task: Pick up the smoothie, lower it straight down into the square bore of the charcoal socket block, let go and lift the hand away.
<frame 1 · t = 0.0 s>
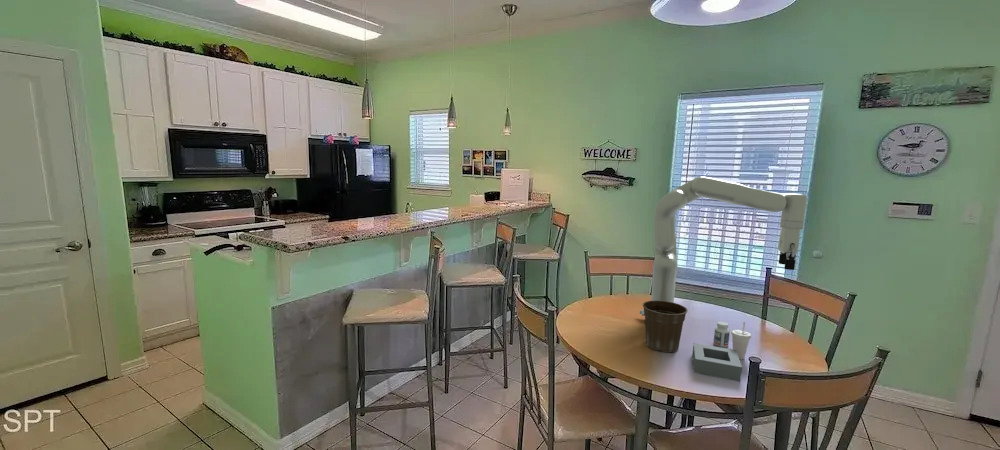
hand: (786, 266, 168), 31 cm above the table, tool pointing down, fingers open, 9 cm apart
socket: (714, 367, 147), on the table
smoothie: (738, 357, 156), on the table
pill bottle: (720, 344, 167), on the table
plant pot: (661, 346, 164), on the table
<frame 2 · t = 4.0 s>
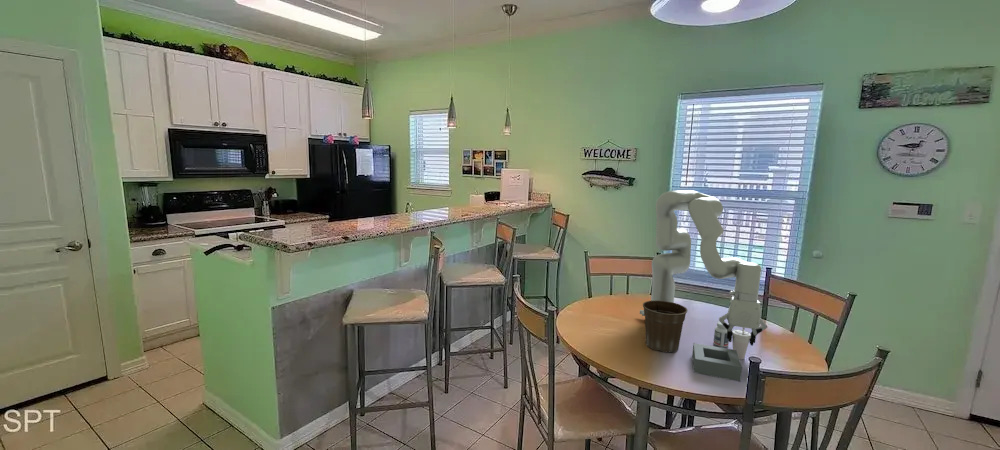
hand: (740, 342, 155), 6 cm above the table, tool pointing down, fingers closed on smoothie, 6 cm apart
smoothie: (738, 357, 156), on the table, touching gripper
everything else where it was.
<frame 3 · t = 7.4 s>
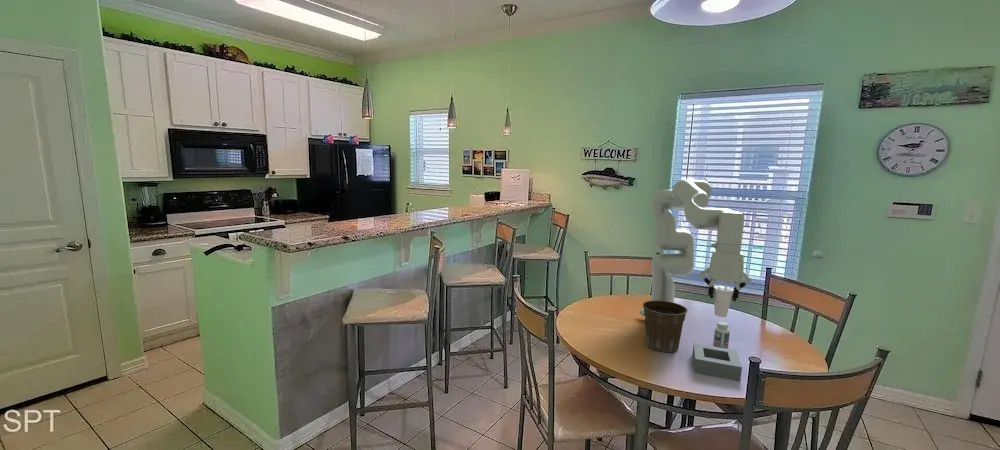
hand: (722, 298, 144), 25 cm above the table, tool pointing down, fingers closed on smoothie, 6 cm apart
smoothie: (720, 315, 145), point 19 cm above the table, touching gripper
everything else where it was.
when the fingers open (7 cm above the table, at t = 10.9 s): smoothie drops 1 cm, resting in socket.
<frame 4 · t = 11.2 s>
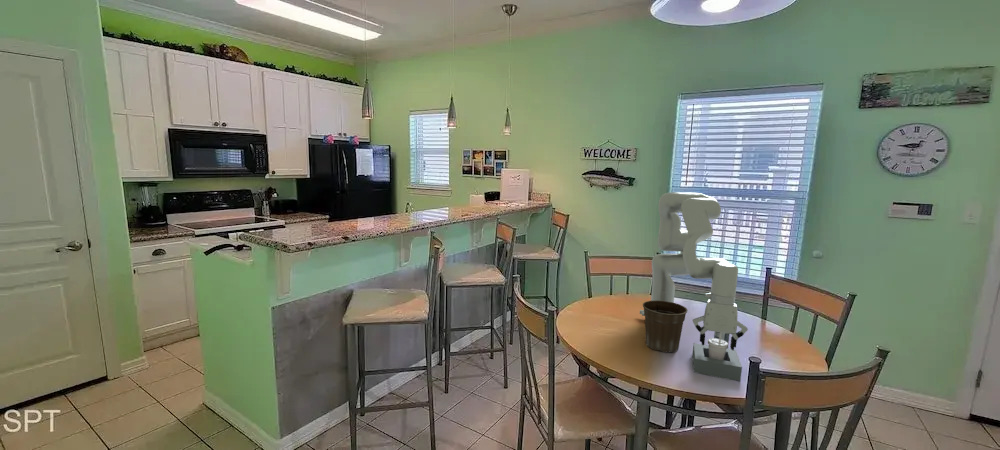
hand: (717, 346, 146), 8 cm above the table, tool pointing down, fingers open, 8 cm apart
smoothie: (715, 368, 148), resting in socket
everything else where it was.
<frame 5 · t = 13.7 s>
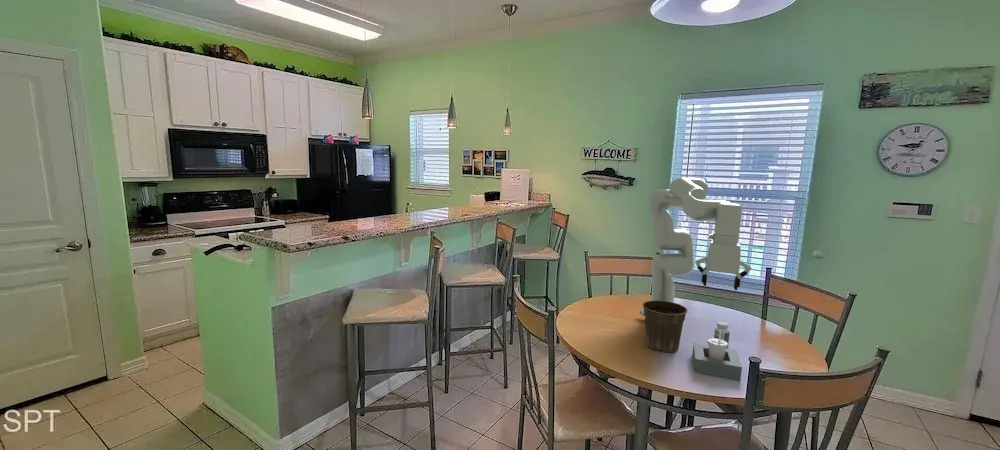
hand: (719, 286, 146), 29 cm above the table, tool pointing down, fingers open, 9 cm apart
nothing on the table moved.
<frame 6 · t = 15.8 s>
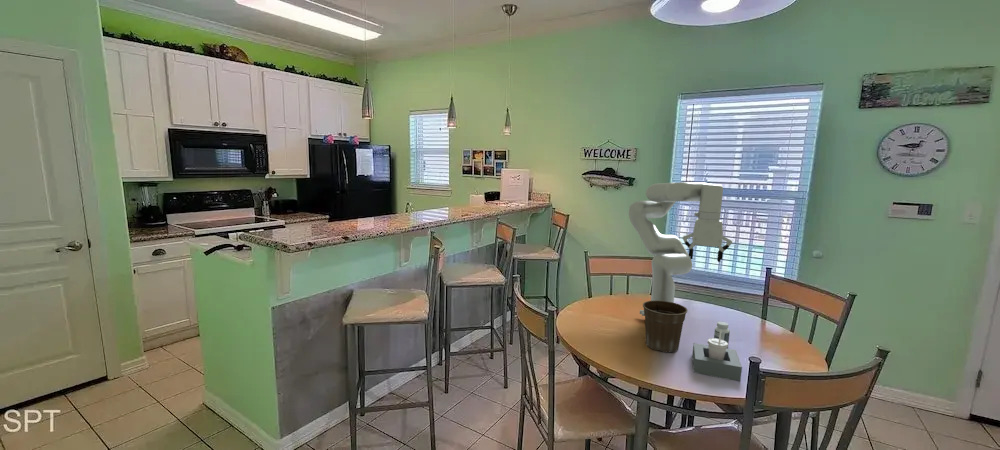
hand: (704, 259, 162), 34 cm above the table, tool pointing down, fingers open, 9 cm apart
nothing on the table moved.
at the end: smoothie 0.2 cm off-centre on the socket, point 0.0 cm above the socket's base; smoothie tilted 0°; the gripper is holding nothing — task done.
